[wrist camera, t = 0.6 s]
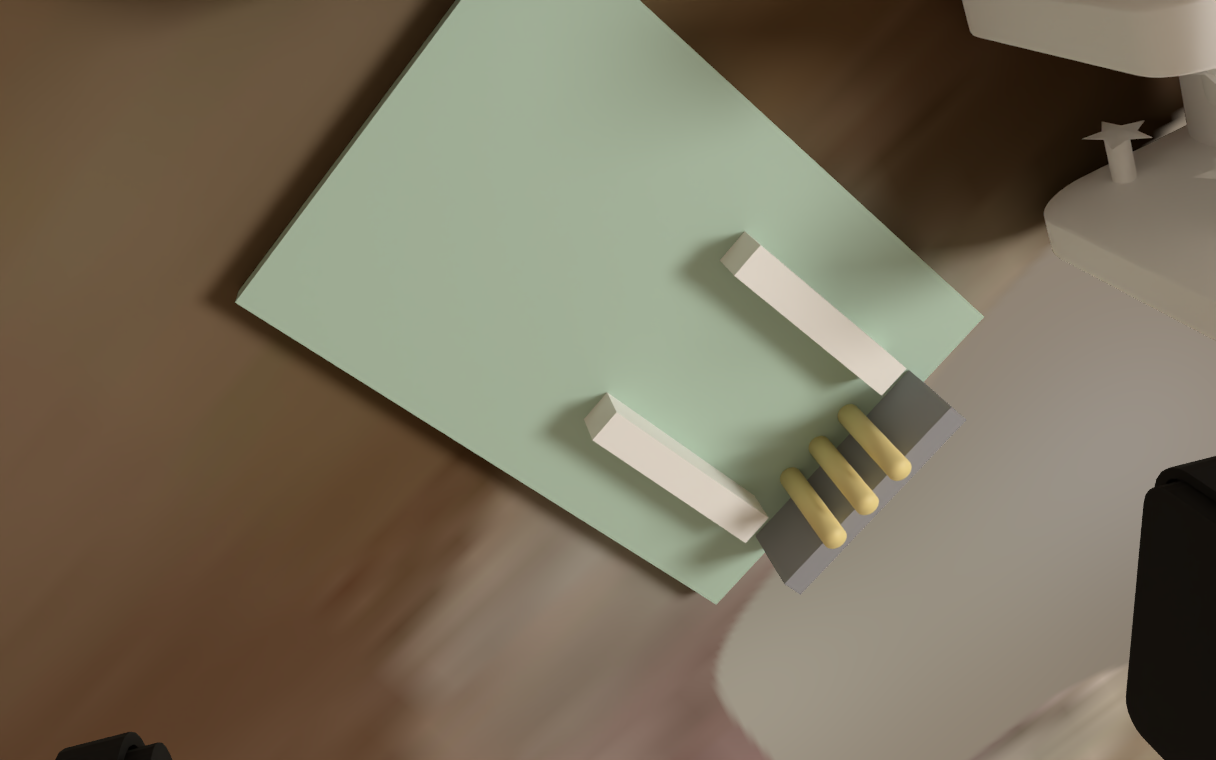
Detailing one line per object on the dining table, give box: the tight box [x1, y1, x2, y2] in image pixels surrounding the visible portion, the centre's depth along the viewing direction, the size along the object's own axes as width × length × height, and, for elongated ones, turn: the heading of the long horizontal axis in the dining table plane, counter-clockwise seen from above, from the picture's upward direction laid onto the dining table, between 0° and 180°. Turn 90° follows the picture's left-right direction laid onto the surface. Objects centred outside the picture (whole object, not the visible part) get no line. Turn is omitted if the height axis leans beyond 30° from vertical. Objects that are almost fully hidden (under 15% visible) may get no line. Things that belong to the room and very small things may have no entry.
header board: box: [235, 0, 984, 604], centre depth 33 cm, size 14×20×5 cm
